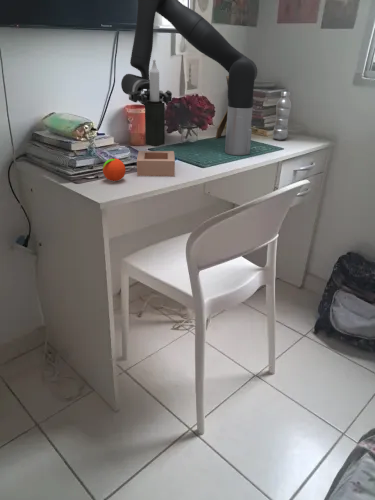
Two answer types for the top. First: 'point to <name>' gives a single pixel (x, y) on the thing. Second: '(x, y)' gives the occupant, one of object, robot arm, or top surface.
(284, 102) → the plastic bottle
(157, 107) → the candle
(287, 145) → the top surface
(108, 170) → the clementine
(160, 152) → the holder block
